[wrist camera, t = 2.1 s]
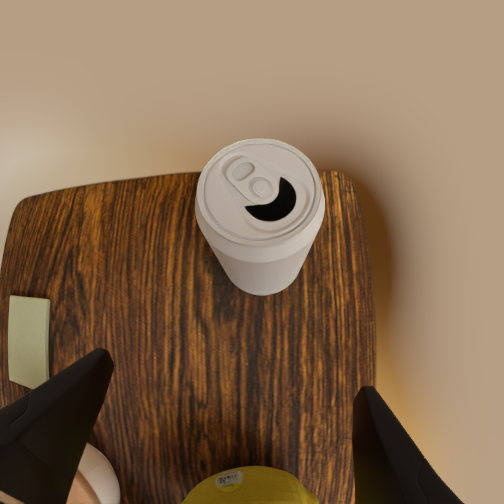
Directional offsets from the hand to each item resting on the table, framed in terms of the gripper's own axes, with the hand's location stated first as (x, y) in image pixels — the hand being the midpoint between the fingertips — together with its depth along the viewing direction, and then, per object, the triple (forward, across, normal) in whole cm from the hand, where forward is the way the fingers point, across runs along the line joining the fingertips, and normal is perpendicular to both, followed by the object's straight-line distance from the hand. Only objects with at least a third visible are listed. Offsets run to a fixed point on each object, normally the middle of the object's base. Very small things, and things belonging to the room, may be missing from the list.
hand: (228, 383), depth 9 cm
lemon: (+1, -1, +18) cm, 18 cm away
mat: (+7, +24, +12) cm, 28 cm away
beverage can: (+15, 0, +4) cm, 16 cm away
